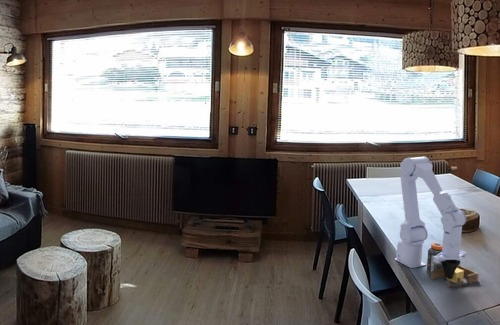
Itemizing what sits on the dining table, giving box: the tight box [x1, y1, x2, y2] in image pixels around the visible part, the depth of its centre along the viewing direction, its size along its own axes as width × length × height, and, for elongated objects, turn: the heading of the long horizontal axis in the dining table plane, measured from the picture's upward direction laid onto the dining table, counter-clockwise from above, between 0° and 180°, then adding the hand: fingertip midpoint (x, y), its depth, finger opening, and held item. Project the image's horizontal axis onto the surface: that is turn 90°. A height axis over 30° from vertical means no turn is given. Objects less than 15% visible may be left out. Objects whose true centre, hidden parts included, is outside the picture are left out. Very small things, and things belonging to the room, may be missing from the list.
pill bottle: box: [426, 242, 443, 274], centre depth 150 cm, size 6×6×11 cm
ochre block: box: [445, 268, 465, 284], centre depth 144 cm, size 4×4×4 cm
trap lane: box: [430, 264, 480, 290], centre depth 144 cm, size 9×15×3 cm, turn 112°
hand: (448, 277), depth 143 cm, fingers closed
